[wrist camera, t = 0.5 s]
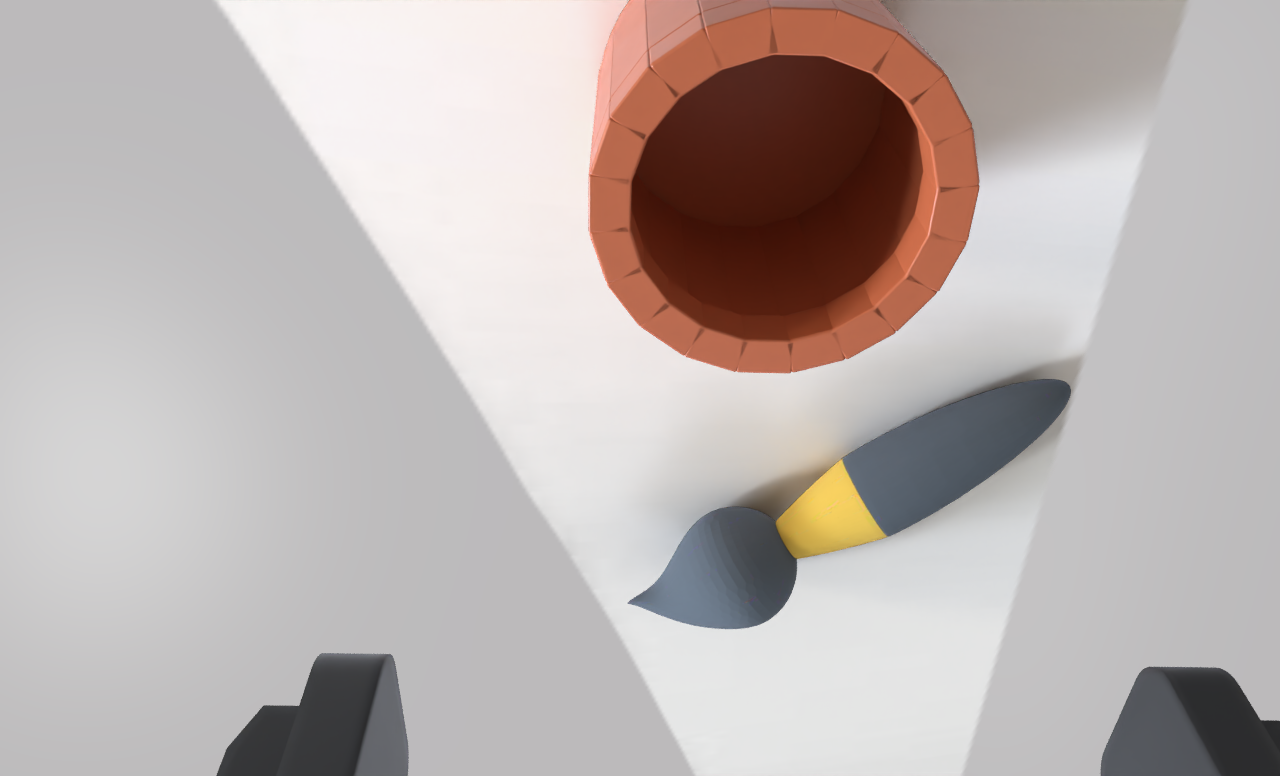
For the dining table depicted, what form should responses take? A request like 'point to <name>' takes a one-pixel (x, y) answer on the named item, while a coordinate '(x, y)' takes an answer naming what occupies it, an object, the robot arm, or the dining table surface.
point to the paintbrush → (848, 506)
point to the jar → (775, 177)
